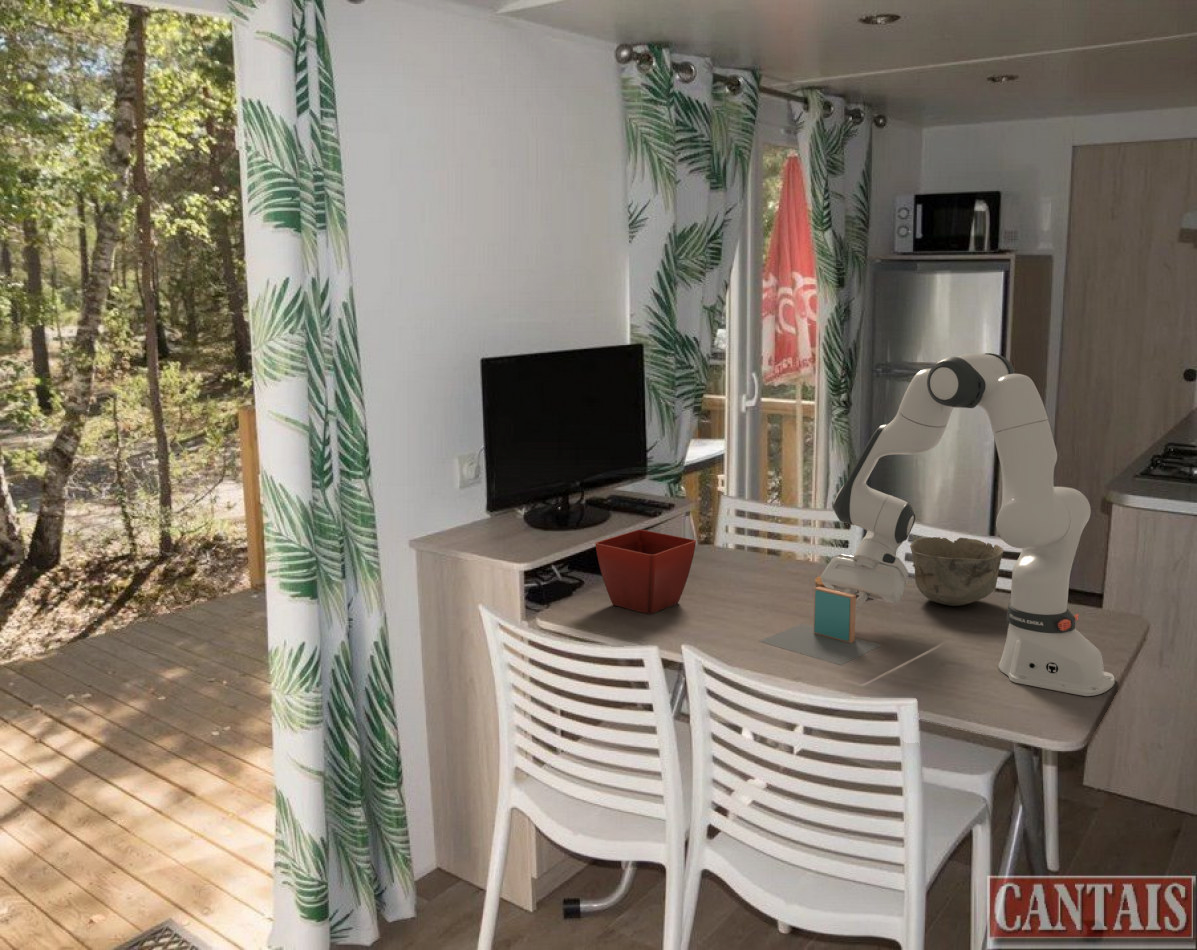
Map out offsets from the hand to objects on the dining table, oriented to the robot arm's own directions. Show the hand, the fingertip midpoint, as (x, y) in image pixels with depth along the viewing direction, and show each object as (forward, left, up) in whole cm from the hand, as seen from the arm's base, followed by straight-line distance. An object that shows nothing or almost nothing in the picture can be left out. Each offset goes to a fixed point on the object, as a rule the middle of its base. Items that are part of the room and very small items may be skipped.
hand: (848, 608), depth 252 cm
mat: (0, +12, -6) cm, 13 cm away
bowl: (-7, -37, -6) cm, 39 cm away
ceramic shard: (+20, -30, -6) cm, 37 cm away
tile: (0, +6, -5) cm, 8 cm away
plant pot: (+50, +16, -6) cm, 53 cm away
